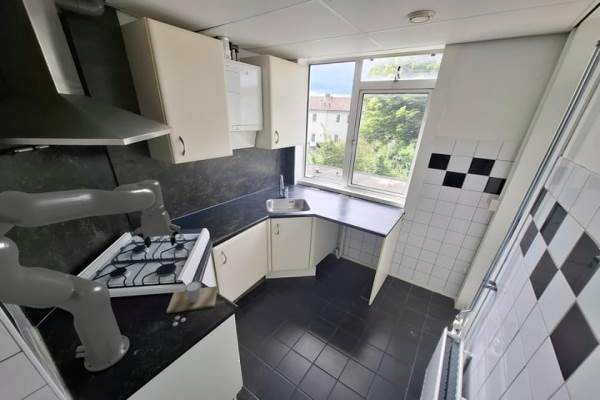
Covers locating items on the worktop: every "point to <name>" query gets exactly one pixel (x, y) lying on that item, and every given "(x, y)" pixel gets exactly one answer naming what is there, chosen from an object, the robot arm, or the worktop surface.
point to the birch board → (183, 304)
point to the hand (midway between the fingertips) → (161, 245)
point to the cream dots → (177, 319)
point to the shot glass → (193, 291)
